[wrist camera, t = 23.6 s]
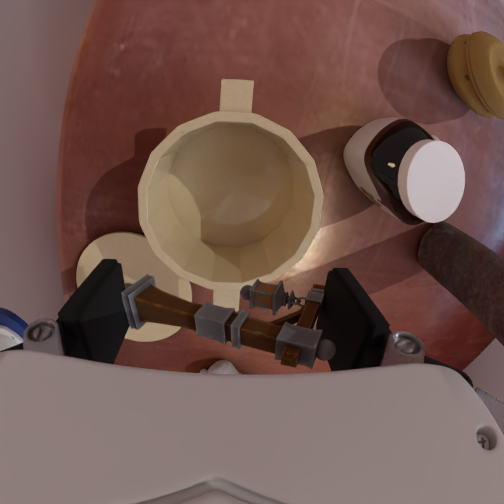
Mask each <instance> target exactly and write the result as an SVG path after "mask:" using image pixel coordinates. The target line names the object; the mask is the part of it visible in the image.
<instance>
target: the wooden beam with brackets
mask: <svg viewBox="0 0 504 504" xmlns="http://www.w3.org/2000/svg"><path fill="white" fill-rule="evenodd" d="M324 289H325V286H323V285H317V284H314V285H313V288H311V291H309V292H308V294H307V297H299V298H297V297H295V295H294V292H293V291H292V292H291V294H290V296H288V292H287V293H285V291H284V288H283V281H280V282H279V284H278V285H272V284H268V283H264V282H261V281H259V279H257V280H256V281H255V283H254V284H253V285H252V286H250V285H245V286H243V287H242V288H241V291H240V295H241V297H242V298H243V299H245V300H250V309H252V308H255V307H258V308H267V309H271V310H273V315H275V314H276V313H277V311H278V310H279V308H280V307H281V306H282V305H284V307H285V306H286V304H287V303H288V310H289V309H290V308H291V307H292V306H293V304H294V305H297V304H298V305H299V306H300V307H302V308H301V309H300V310H299V311H297V312H294V313H292V314H289V315H287V316H284V317H282V318H279V319H277V320H274V321H272V322H269V323H268V322H264V321H261V320H257V319H254V318H250V317H249V312H245V311H243V310H241V312H240V313H239V314H236V313H235V308H225V307H221V306H217V305H213V304H211V303H209V302H206V303H205V304H204V305H201V304H197V303H193V302H189V301H187V300H184V299H182V298H179V297H177V296H174V295H172V294H169V293H167V292H164V291H162V290H160V289H159V288H157V287H156V284H155V278H154V276H150V275H149V274H146V275H145V276H143V277H142V278H141V279H139V280H138V281H136V282H135V283H134V284H132V285H131V286H130V287H128V288H127V289H125V290H124V291H123V292H122V293H121V294H122V299H123V304H124V307H125V311H126V315H127V318H128V321H129V325H130V328H131V329H137V330H139V329H140V328H141V327H142V326H143V325H144V324H145V323H147V322H150V323H158V324H165V325H171V326H178V327H183V328H187V329H191V330H195V331H197V336H203V337H207V338H210V339H213V340H216V341H219V342H220V343H222V344H224V345H225V344H226V343H227V341H231V342H232V347H237V348H238V349H240V347H241V346H242V345H245V346H249V347H252V348H256V349H259V350H263V351H267V352H270V353H274V354H275V360H281V365H286V366H291V367H296V366H297V364H300V365H304V366H307V367H309V368H311V369H312V367H313V364H314V362H315V359H316V357H317V358H318V359H320V360H323V361H326V360H330V359H331V358H332V357H333V356H334V355H335V353H336V347H335V345H334V343H333V342H332V341H330V340H327V339H323V340H321V335H322V330H313V327H314V324H315V321H316V319H317V317H320V314H321V311H322V306H323V300H324ZM295 299H296V300H297V302H295ZM300 299H305V306H304V305H301V304H299V303H300V302H301V300H300ZM297 322H298V323H297ZM295 323H297V325H292V324H295Z"/></svg>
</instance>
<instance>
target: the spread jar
mask: <svg viewBox="0 0 504 504" xmlns="http://www.w3.org/2000/svg"><path fill="white" fill-rule="evenodd" d="M343 158H344V163H345V166H346V169H347V171H348V173H349V175H350V177H351V179H352V180H353V182H354V183H355V185H356V186H357V187H358V188H359V189H360V190H361V191H362V193H363V194H364V195H365V196H366V197H368V198H369V199H370V200H371V201H372V202H373V203H374V204H376V205H377V206H378V207H379V208H381V209H382V210H384V211H385V212H386V213H388V214H390V215H391V216H393V217H395V218H396V219H398V220H400V221H401V222H404V223H406V224H409V225H417V224H419V223H421V222H423V221H426V222H430V223H437V222H440V221H443V220H445V219H446V218H448V217H449V216H450V215H451V214H452V213H453V212H454V211H455V210H456V208H457V207H458V205H459V203H460V201H461V198H462V196H463V191H464V186H465V173H464V168H463V164H462V161H461V158H460V157H459V155H458V153H457V152H456V151H455V149H454V148H453V147H452V146H450V145H449V144H447V143H445V142H443V141H440V140H439V139H438V138H437V137H436V136H435V135H430V134H429V133H428V132H426V131H425V130H424V129H423V128H422V127H420V126H419V125H418V124H416V123H414V122H412V121H410V120H408V119H403V118H379V119H376V120H373V121H371V122H369V123H368V124H366V125H364V126H363V127H362V128H360V129H359V130H358V131H357V132H356V133H355V134H354V135H353V136H352V137H351V138H350V140H349V141H348V143H347V144H346V146H345V148H344V152H343Z"/></svg>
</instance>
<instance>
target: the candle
mask: <svg viewBox="0 0 504 504" xmlns="http://www.w3.org/2000/svg"><path fill="white" fill-rule="evenodd" d="M418 258H419V263H420V265H421V267H422V268H424V269H425V270H426V271H427V272H428V273H429V274H430V275H431V276H432V277H434V278H435V279H436V280H437V281H438V282H439V283H440V284H441V285H443V286H444V287H445V288H446V289H447V290H448V291H449V292H450V293H451V294H453V295H454V296H455V297H456V298H457V299H458V300H459V301H460V302H461V303H462V304H463V305H464V306H466V307H467V308H468V309H469V310H470V311H471V312H472V313H473V314H474V315H475V316H476V317H477V318H478V319H479V320H480V321H481V323H483V324H484V326H485V327H486V328H487V329H488V330H489V331H490V332H491V333H492V334H493V335H494V336H495V337H496V338H497V339H498V341H499V342H500V343H501V344H502V345H503V346H504V258H502V257H501V256H499V255H498V254H496V253H495V252H494V251H492V250H491V249H489V248H487V247H486V246H484V245H483V244H481V243H480V242H478V241H477V240H475V239H474V238H472V237H470V236H469V235H467V234H466V233H464V232H462V231H460V230H459V229H457V228H456V227H454V226H452V225H450V224H448V223H446V222H439V223H436V224H434V226H433V227H431V228H430V229H429V230H428V231H427V233H426V234H425V235H424V236H423V237H422V239H421V242H420V246H419V252H418Z"/></svg>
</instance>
